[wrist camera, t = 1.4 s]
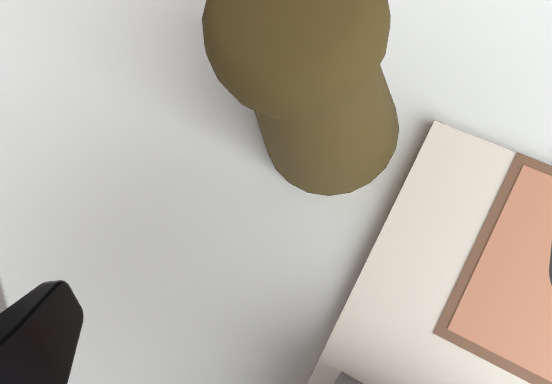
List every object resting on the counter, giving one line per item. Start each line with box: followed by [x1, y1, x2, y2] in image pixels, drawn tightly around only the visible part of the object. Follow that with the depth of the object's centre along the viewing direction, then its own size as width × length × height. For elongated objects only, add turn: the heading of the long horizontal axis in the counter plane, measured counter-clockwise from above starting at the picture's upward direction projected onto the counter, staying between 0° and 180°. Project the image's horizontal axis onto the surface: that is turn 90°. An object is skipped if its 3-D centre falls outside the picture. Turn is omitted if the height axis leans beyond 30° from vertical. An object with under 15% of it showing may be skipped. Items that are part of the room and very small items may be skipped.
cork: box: [202, 0, 399, 196], centre depth 18 cm, size 6×6×11 cm
